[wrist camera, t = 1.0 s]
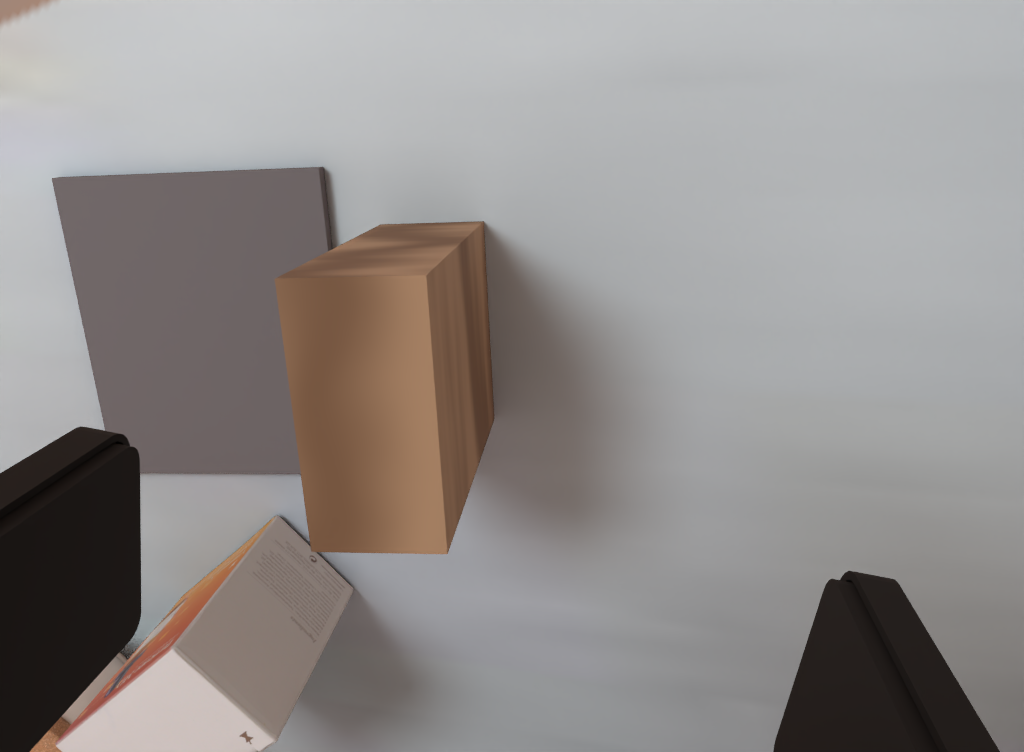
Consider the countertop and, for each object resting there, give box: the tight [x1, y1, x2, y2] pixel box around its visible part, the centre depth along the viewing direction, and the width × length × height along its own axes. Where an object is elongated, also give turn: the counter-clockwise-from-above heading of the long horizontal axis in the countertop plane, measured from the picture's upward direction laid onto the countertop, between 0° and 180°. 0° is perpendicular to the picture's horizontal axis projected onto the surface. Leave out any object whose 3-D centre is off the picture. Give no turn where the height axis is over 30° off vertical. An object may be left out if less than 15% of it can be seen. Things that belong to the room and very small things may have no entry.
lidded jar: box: [30, 652, 128, 752], centre depth 40 cm, size 11×11×9 cm
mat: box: [52, 167, 332, 474], centre depth 37 cm, size 12×14×1 cm
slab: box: [275, 221, 494, 554], centre depth 30 cm, size 5×9×12 cm, turn 2°
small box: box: [55, 515, 353, 752], centre depth 36 cm, size 8×6×10 cm
